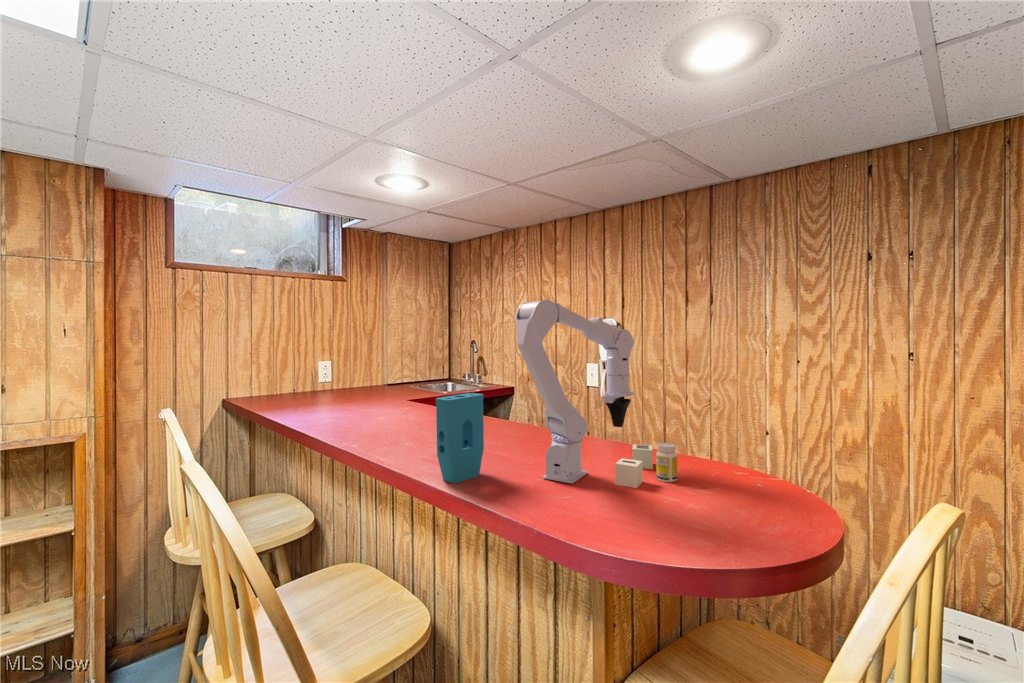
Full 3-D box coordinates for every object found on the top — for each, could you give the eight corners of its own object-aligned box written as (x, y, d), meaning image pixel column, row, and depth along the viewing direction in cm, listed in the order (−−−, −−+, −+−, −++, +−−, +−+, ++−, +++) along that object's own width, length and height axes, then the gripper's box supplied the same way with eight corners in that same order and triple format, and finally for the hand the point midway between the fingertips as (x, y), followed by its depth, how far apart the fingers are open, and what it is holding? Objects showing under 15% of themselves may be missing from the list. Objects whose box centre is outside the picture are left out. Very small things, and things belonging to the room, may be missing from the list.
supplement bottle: (672, 475, 112) (672, 441, 112) (680, 482, 108) (680, 446, 107) (653, 476, 112) (653, 442, 112) (660, 482, 108) (660, 447, 107)
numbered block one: (636, 488, 104) (636, 465, 104) (615, 484, 107) (615, 462, 107) (642, 482, 109) (642, 460, 108) (621, 478, 111) (621, 457, 111)
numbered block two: (652, 469, 118) (652, 449, 118) (632, 468, 119) (632, 448, 119) (652, 463, 123) (652, 444, 123) (633, 462, 124) (633, 443, 124)
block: (449, 485, 107) (448, 400, 107) (435, 481, 111) (434, 398, 110) (485, 473, 116) (484, 394, 116) (472, 469, 119) (471, 392, 119)
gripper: (623, 378, 112) (624, 433, 113) (641, 373, 124) (641, 423, 125) (596, 377, 116) (596, 430, 116) (615, 372, 128) (616, 420, 129)
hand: (618, 426), depth 121 cm, fingers closed
